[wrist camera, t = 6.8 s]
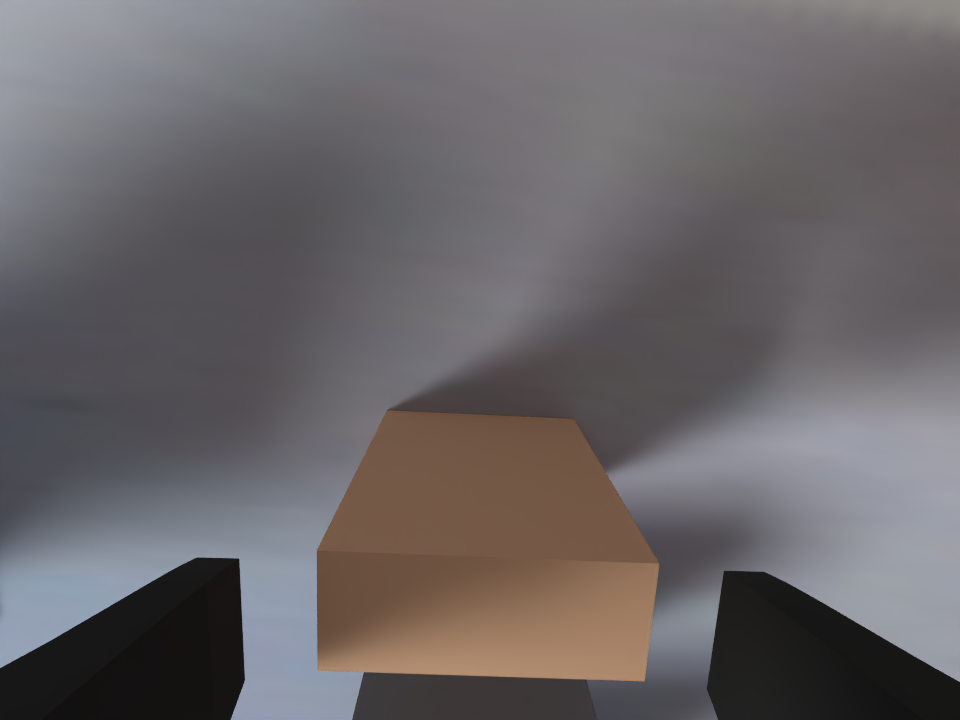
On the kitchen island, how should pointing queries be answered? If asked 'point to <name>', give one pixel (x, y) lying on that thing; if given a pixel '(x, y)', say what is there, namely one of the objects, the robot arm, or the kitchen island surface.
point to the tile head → (484, 556)
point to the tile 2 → (471, 698)
